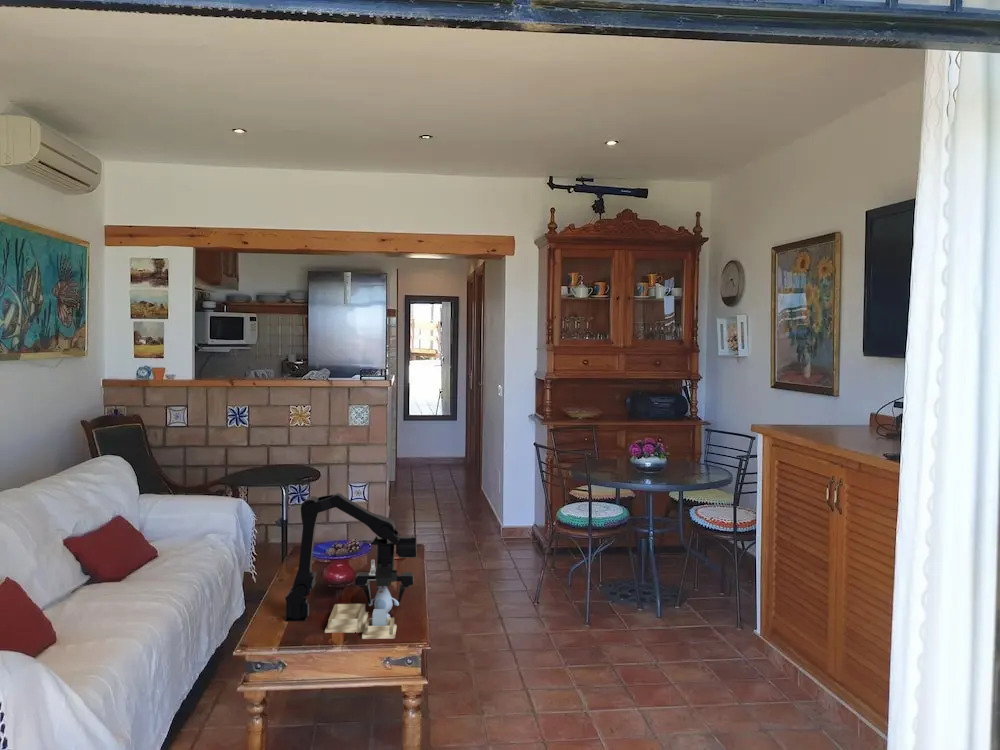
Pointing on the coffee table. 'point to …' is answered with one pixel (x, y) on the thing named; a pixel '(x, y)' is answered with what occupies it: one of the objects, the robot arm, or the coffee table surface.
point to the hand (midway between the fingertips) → (384, 604)
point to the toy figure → (383, 600)
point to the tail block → (380, 617)
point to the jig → (358, 622)
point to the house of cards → (372, 568)
